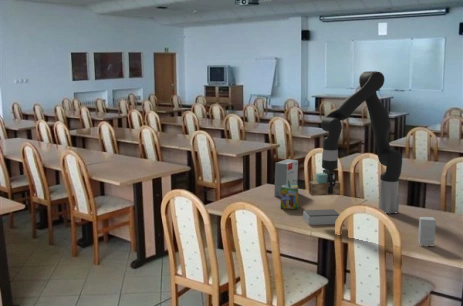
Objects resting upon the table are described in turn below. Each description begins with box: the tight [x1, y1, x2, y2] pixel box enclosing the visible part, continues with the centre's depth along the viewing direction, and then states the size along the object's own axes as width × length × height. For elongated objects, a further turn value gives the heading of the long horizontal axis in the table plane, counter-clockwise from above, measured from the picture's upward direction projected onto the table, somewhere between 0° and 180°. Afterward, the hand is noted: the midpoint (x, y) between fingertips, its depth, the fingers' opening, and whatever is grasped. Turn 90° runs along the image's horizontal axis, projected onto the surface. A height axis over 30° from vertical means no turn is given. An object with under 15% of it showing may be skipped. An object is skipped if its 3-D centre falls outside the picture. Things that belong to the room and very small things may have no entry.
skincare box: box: [417, 216, 437, 246], centre depth 217 cm, size 6×4×12 cm
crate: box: [315, 172, 327, 183], centre depth 246 cm, size 4×4×4 cm
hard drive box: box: [273, 158, 299, 198], centre depth 298 cm, size 16×8×20 cm, turn 147°
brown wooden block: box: [308, 180, 341, 197], centre depth 247 cm, size 14×5×6 cm, turn 97°
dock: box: [302, 208, 341, 226], centre depth 249 cm, size 16×10×4 cm, turn 97°
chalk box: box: [280, 180, 299, 210], centre depth 272 cm, size 9×9×15 cm
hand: (328, 192), depth 247 cm, fingers closed on brown wooden block, 5 cm apart
